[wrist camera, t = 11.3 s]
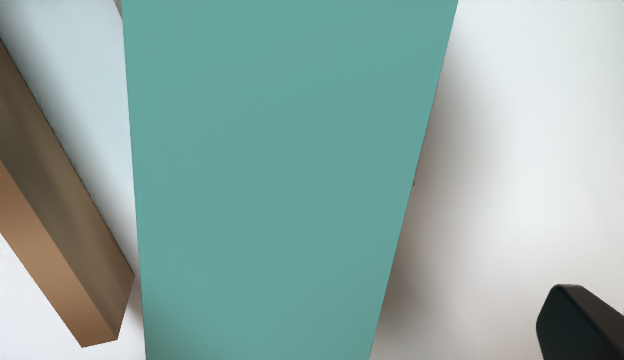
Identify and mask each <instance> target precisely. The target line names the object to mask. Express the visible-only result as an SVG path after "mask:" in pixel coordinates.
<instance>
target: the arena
mask: <svg viewBox="0 0 624 360" xmlns="http://www.w3.org/2000/svg"><path fill="white" fill-rule="evenodd" d="M114 2H115V4H116V6H117V9H118V11H119V13H120V16H121V18H122V4H121V0H114ZM122 20H123V19H122ZM413 185H415V183H414V180H413V184H412V186H413ZM0 233H1V234H2V236H3V237H4V238H5V240H6V241H7V243H8V244H9V245H10V247H11V248H12V250H13V251H14V253H15V254H16V255H17V257H18V258H19V260H20V261H21V262H22V264H23V265H24V267H25V268H26V269H27V271H28V272H29V274H30V275H31V276H32V278H33V279H34V281H35V282H36V284H37V285H38V286H39V288H40V289H41V291H42V292H43V293H44V295H45V296H46V298H47V299H48V300H49V302H50V303H51V305H52V306H53V308H54V309H55V310H56V312H57V313H58V315H59V316H60V317H61V319H62V320H63V322H64V323H65V324H66V326H67V327H68V329H69V330H70V331H71V333H72V334H73V336H74V337H75V339H76V340H77V341H78V343H79V344H80V346H81V347H82V348H84V347H88V346H92V345H97V344H101V343H106V342H110V341H115V340H117V339H118V335H119V332H120V328H121V324H122V321H123V317H124V313H125V310H126V306H127V302H128V298H129V295H130V291H131V287H132V284H133V280H134V276H135V275H134V273H133V272H132V270H131V268H130V266H129V265H128V263H127V261H126V259H125V257H124V256H123V254H122V252H121V250H120V249H119V247H118V245H117V243H116V242H115V240H114V238H113V236H112V235H111V233H110V231H109V229H108V228H107V226H106V224H105V222H104V220H103V219H102V217H101V215H100V213H99V212H98V210H97V208H96V206H95V205H94V203H93V201H92V199H91V198H90V196H89V194H88V192H87V191H86V189H85V187H84V185H83V184H82V182H81V180H80V178H79V176H78V175H77V173H76V171H75V169H74V168H73V166H72V164H71V162H70V161H69V159H68V157H67V155H66V154H65V152H64V150H63V148H62V147H61V145H60V143H59V141H58V139H57V138H56V136H55V134H54V132H53V131H52V129H51V127H50V125H49V124H48V122H47V120H46V118H45V117H44V115H43V113H42V111H41V110H40V108H39V106H38V104H37V102H36V101H35V99H34V97H33V95H32V94H31V92H30V90H29V88H28V87H27V85H26V83H25V81H24V80H23V78H22V76H21V74H20V73H19V71H18V69H17V67H16V66H15V64H14V62H13V60H12V58H11V57H10V55H9V53H8V51H7V50H6V48H5V46H4V44H3V43H2V41H1V39H0Z"/></svg>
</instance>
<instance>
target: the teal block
mask: <svg viewBox="0 0 624 360" xmlns="http://www.w3.org/2000/svg"><path fill="white" fill-rule="evenodd" d="M121 4H122V19H123V33H124V48H125V62H126V77H127V91H128V106H129V120H130V135H131V149H132V164H133V178H134V193H135V207H136V222H137V236H138V251H139V265H140V280H141V294H142V309H143V323H144V338H145V352H146V360H369V356H370V352H371V348H372V344H373V340H374V336H375V332H376V328H377V324H378V320H379V316H380V312H381V308H382V304H383V300H384V296H385V292H386V288H387V284H388V280H389V276H390V272H391V268H392V264H393V260H394V256H395V252H396V248H397V244H398V240H399V236H400V232H401V228H402V224H403V220H404V216H405V212H406V208H407V204H408V200H409V196H410V192H411V188H412V184H413V180H414V176H415V172H416V168H417V164H418V160H419V156H420V152H421V148H422V144H423V140H424V136H425V132H426V128H427V124H428V120H429V116H430V112H431V108H432V104H433V100H434V96H435V92H436V88H437V84H438V80H439V76H440V72H441V68H442V64H443V60H444V56H445V52H446V48H447V44H448V40H449V36H450V32H451V28H452V24H453V20H454V16H455V12H456V8H457V4H458V0H121Z"/></svg>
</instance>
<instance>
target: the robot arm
mask: <svg viewBox="0 0 624 360" xmlns="http://www.w3.org/2000/svg"><path fill="white" fill-rule="evenodd" d="M536 333H537V337H538V341H539V345H540V348H541V352H542V356H543V359H544V360H624V316H623V315H622V314H621V313H619V312H618V311H616V310H615V309H614V308H612V307H611V306H609V305H608V304H607V303H605V302H604V301H602V300H601V299H600V298H598V297H597V296H595V295H594V294H593V293H591V292H590V291H588V290H587V289H585V288H584V287H582V286H580V285H572V284H557V285H555V286H553V287H552V288H551V290H550V292H549V294H548V296H547V298H546V300H545V302H544V305H543V307H542V309H541V311H540V313H539V315H538V318H537V322H536Z"/></svg>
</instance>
